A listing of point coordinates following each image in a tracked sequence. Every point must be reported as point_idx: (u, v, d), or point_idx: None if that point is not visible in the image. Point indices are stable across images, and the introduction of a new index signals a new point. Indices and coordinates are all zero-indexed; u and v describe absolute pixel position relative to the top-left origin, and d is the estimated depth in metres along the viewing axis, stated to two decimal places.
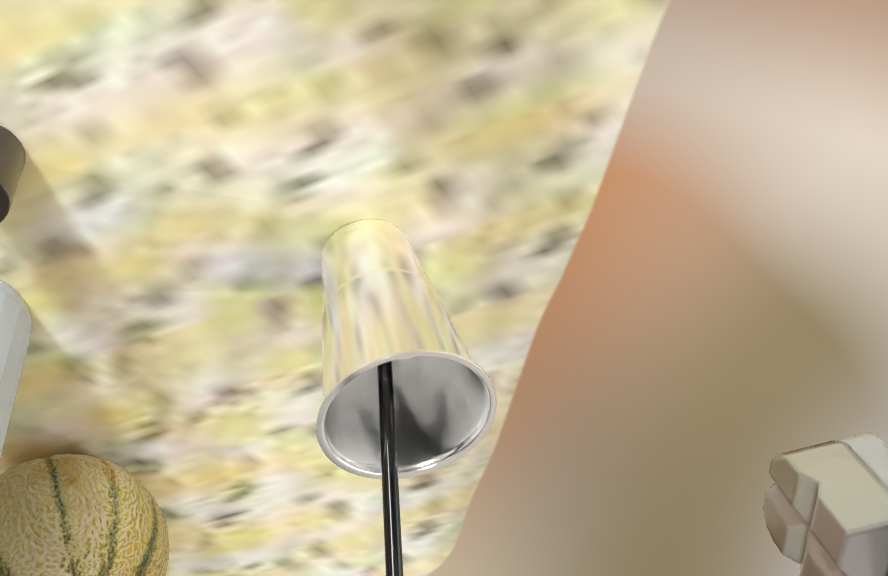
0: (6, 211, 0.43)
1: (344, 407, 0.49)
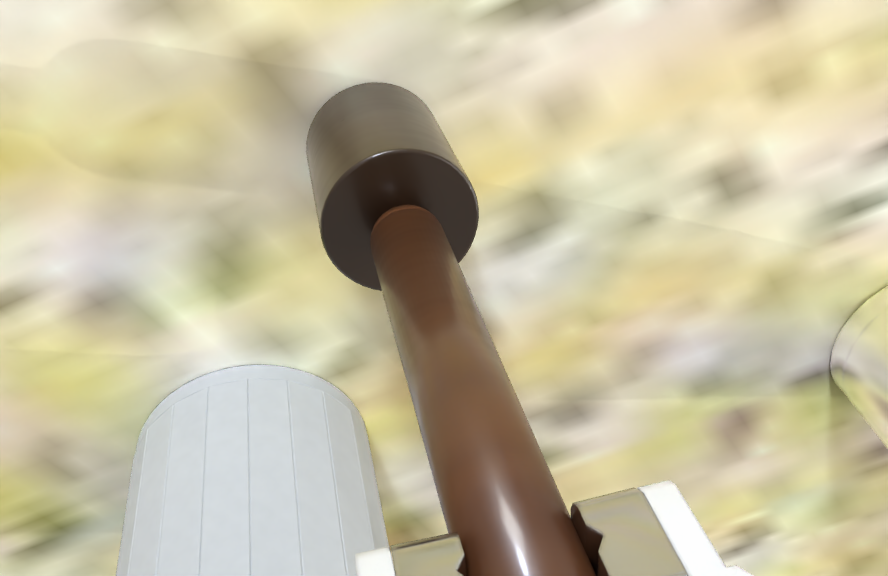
0: (465, 250, 0.21)
1: None
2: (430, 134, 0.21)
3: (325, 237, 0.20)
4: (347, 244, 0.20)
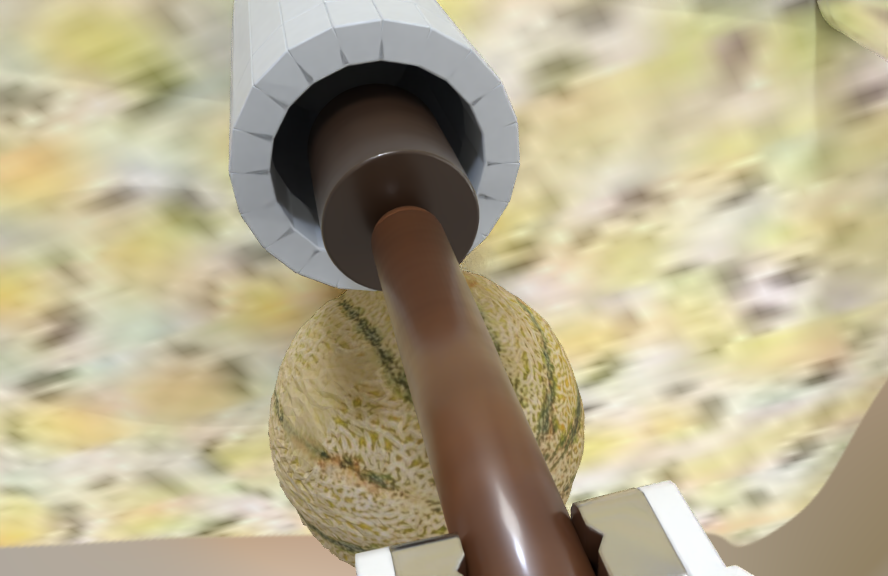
0: (466, 251, 0.21)
1: None
2: (431, 135, 0.21)
3: (326, 238, 0.20)
4: (348, 245, 0.20)
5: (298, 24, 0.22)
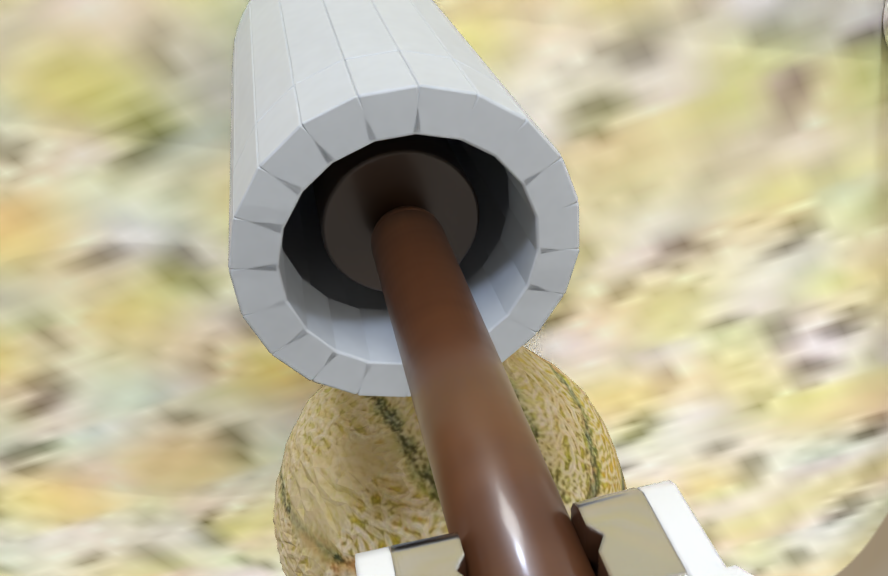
0: (466, 251, 0.21)
1: None
2: None
3: (326, 238, 0.20)
4: (348, 245, 0.20)
5: (313, 87, 0.18)
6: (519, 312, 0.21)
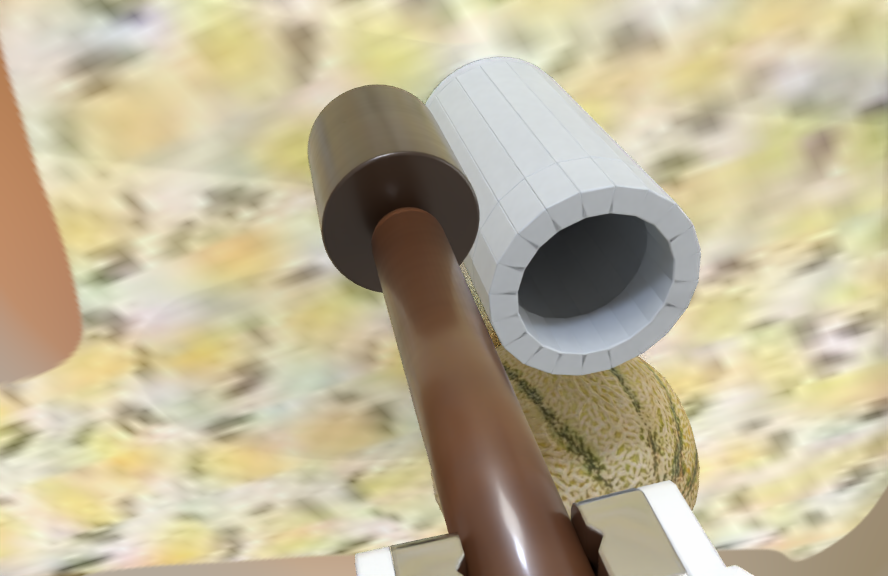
0: (466, 253, 0.21)
1: None
2: (431, 136, 0.21)
3: (326, 239, 0.20)
4: (348, 246, 0.20)
5: (542, 182, 0.29)
6: (657, 320, 0.32)
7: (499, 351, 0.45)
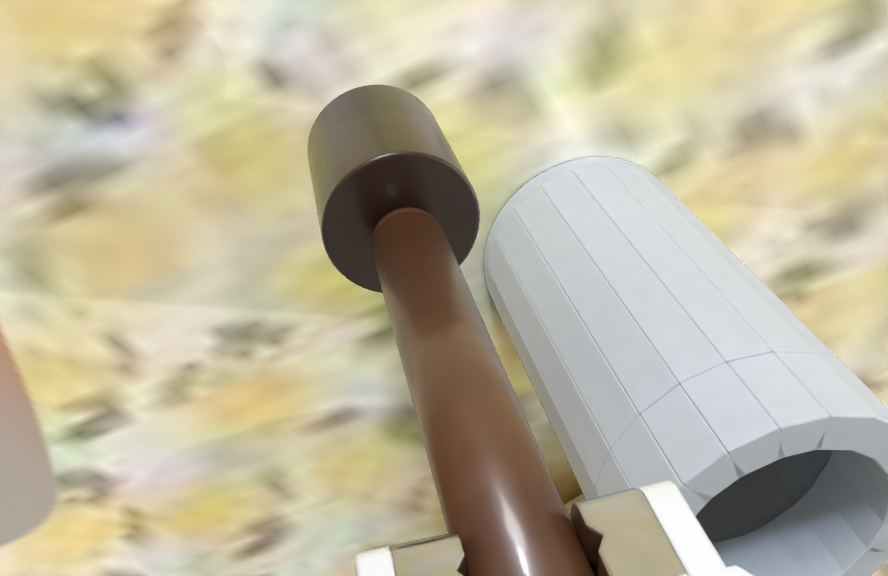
0: (466, 253, 0.21)
1: None
2: (431, 137, 0.21)
3: (326, 239, 0.20)
4: (348, 246, 0.20)
5: (710, 397, 0.20)
6: (855, 568, 0.23)
7: None
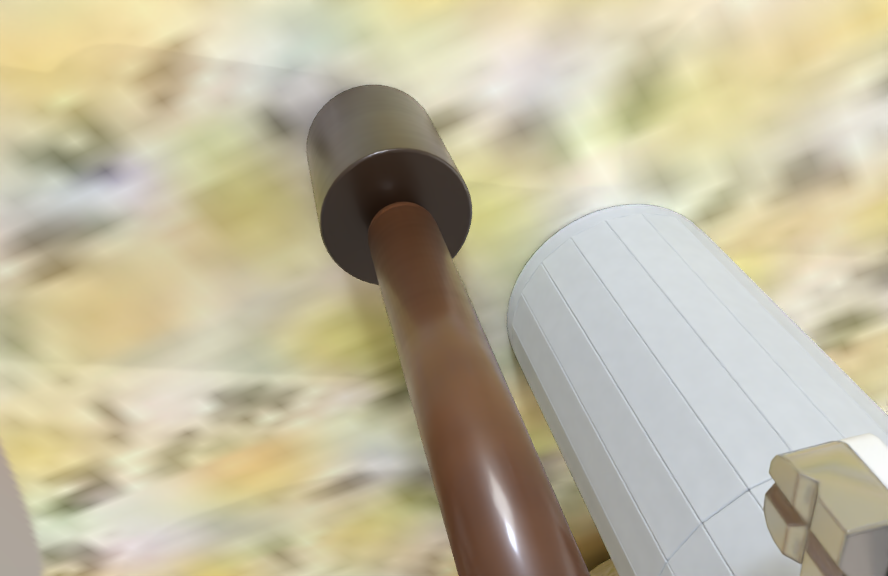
0: (459, 246, 0.22)
1: None
2: (425, 134, 0.22)
3: (324, 233, 0.21)
4: (345, 240, 0.21)
5: None
6: None
7: None
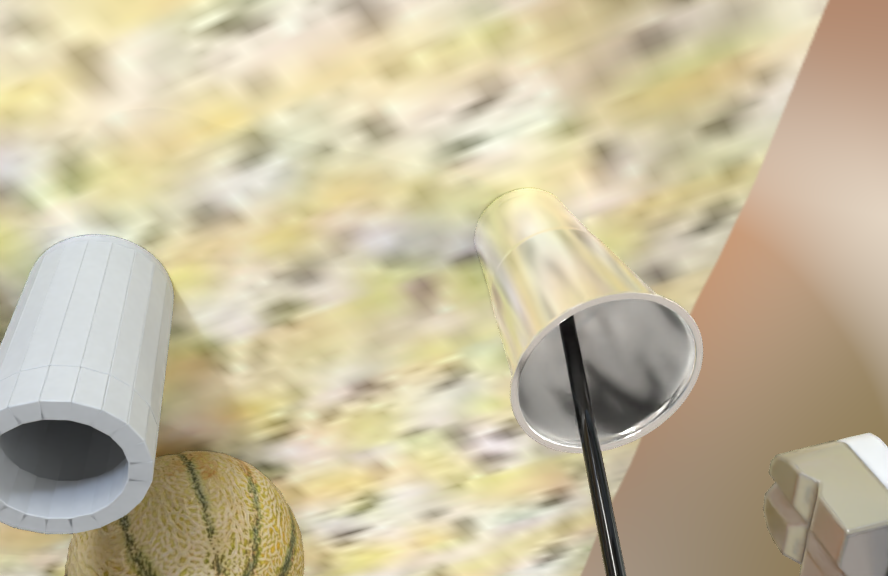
0: None
1: (521, 377, 0.45)
2: None
3: None
4: None
5: None
6: (127, 491, 0.39)
7: None
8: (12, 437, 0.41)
